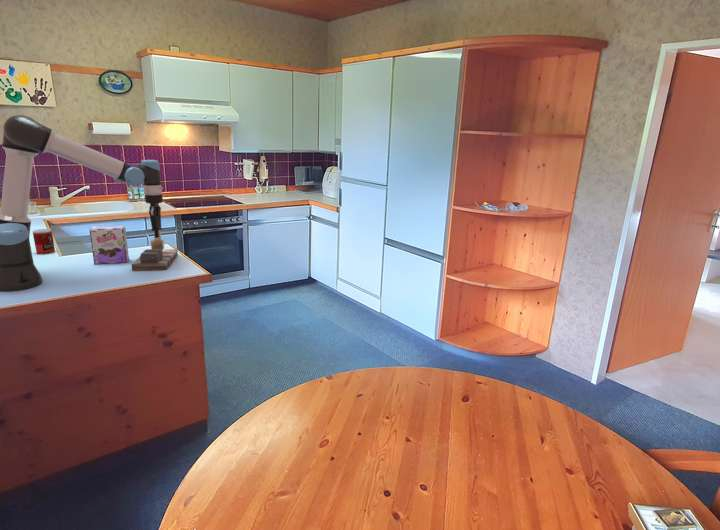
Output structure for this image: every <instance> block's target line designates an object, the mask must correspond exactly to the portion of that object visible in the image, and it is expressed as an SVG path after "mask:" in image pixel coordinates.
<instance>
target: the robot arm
mask: <svg viewBox="0 0 720 530" xmlns="http://www.w3.org/2000/svg"><path fill="white" fill-rule="evenodd" d="M2 135H3V136H2V145H1V147H2V149H3V150H4V151H5V153H6V156H5V164H4V165H5V166H4V173H3V183H2V184H3V185H2V193H1V194H2V195H1V202H0V292H13V291H19V290H20V291H21V290H26V289H31V288H34V287H38V286H40V285H41V284H42V283H43V278H42V275H41V273H40V271H39V270H38V268H37V267H36V265H35V262H34V259H33V252H32V247H31V242H30V236H31V235H30V234H31V226H32V220H31V219H30V218H29V217H28V209H29V201H30V191H31V183H32V175H33V164H34V158H35V157H37V156H38V155H40V153H42V154H45V153H50V154H53V155H55V156H57V157H60V158H62V159H65V160H68V161H70V162H73V163H75V164H77V165H80V166H83V167H85V168H88V169H91V170H94V171H96V172H99V173H101V174H104V175H106V176H109V177H111V178H113V181H114V182H115V183H121V184H122V183H126V184H128V185H131V186H135V187H136V186H139V185H142V184H143V193H144V202H145V203H147V204H149V210H148V213H149V217H150V224H151V231H152V232H153V236H154V238H153V240H162V233H161V232H162V231H161V230H163V227H162V212H161V210H162V208H161V206H160V204H161V203H163V202H164V198H163V189H164V187H163V186H162V179H161V177H162V176H161V168H160V167H161V166H160V163H159V161H158V160H156V159H142V160H141V162H140V163H139V164H129V163H126V162H124V161H122V160H119V159H117V158H114V157H112V156H111V155H110V156H109V155H107V154H105V153H103V152H101V151H98V150H95V149H93V148H91V147H88V146H87V145H84V144H81V143H79V142H77V141H74V140H72V139H69V138H66V137H65V136H62V135H60V134H57V133H55V131H54V129H53V128H50V127H48V126H45V125H44V124H42V123H40V122H38V121H36V120H35V119H34V118H33V117H30V116H27V115H24V114H16V115H12V116H10V117H8V118H7V119H5V121H4V124H3V133H2ZM39 152H40V153H39Z"/></svg>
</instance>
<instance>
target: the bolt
mask: <svg viewBox="0 0 720 530" xmlns="http://www.w3.org/2000/svg"><path fill="white" fill-rule="evenodd" d="M150 246H151V248H150V249H162V252H163V250H165V242H164V239H161V240H155V239H151V240H150Z"/></svg>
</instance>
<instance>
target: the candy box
mask: <svg viewBox="0 0 720 530" xmlns="http://www.w3.org/2000/svg"><path fill="white" fill-rule="evenodd" d="M126 230H127V229H126V226H125V225H122V226H92V227H91V228H89V235H90V242H91V250H92V258H93V264H94V265H101V264H102V265H103V264H104V265H107V264H127V263H128V262H129V261H130V256H129V247H128V246H129V245H128V239H127V231H126Z"/></svg>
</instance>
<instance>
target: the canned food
mask: <svg viewBox="0 0 720 530" xmlns="http://www.w3.org/2000/svg"><path fill="white" fill-rule="evenodd" d="M32 235H33V242H34V247H35V251H36V253H37V254H38V255H49V254H53V253H55V250H56V249H55V242H54V236H53V231H52V229H50V228H48V229H47V228H42V229H40V228H39V229H35V230H33V231H32Z"/></svg>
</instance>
